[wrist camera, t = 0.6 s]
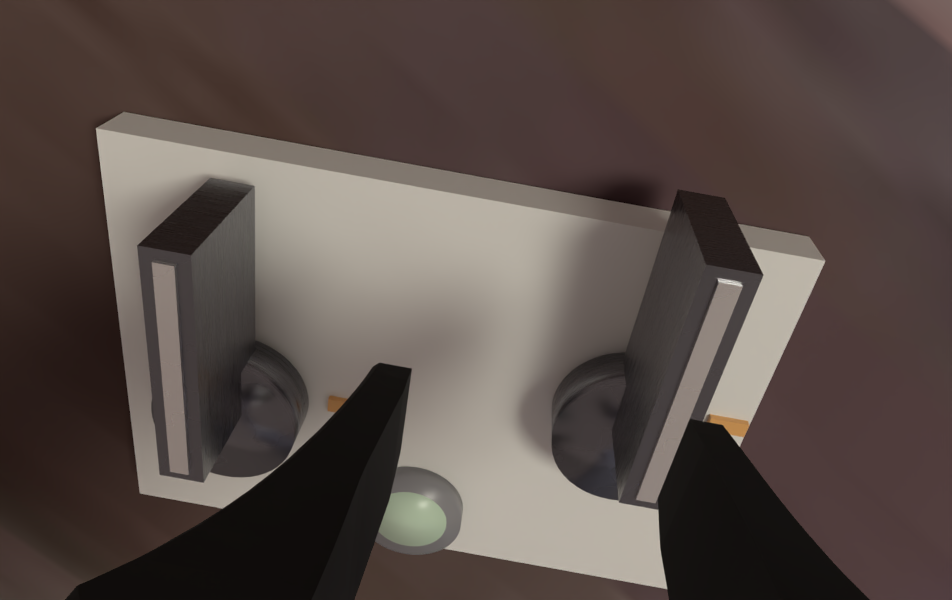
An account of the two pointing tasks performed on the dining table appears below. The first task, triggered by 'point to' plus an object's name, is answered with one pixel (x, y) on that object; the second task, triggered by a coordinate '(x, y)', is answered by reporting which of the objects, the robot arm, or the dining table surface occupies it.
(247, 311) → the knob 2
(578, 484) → the knob
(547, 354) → the base
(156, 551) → the robot arm
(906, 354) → the dining table surface
